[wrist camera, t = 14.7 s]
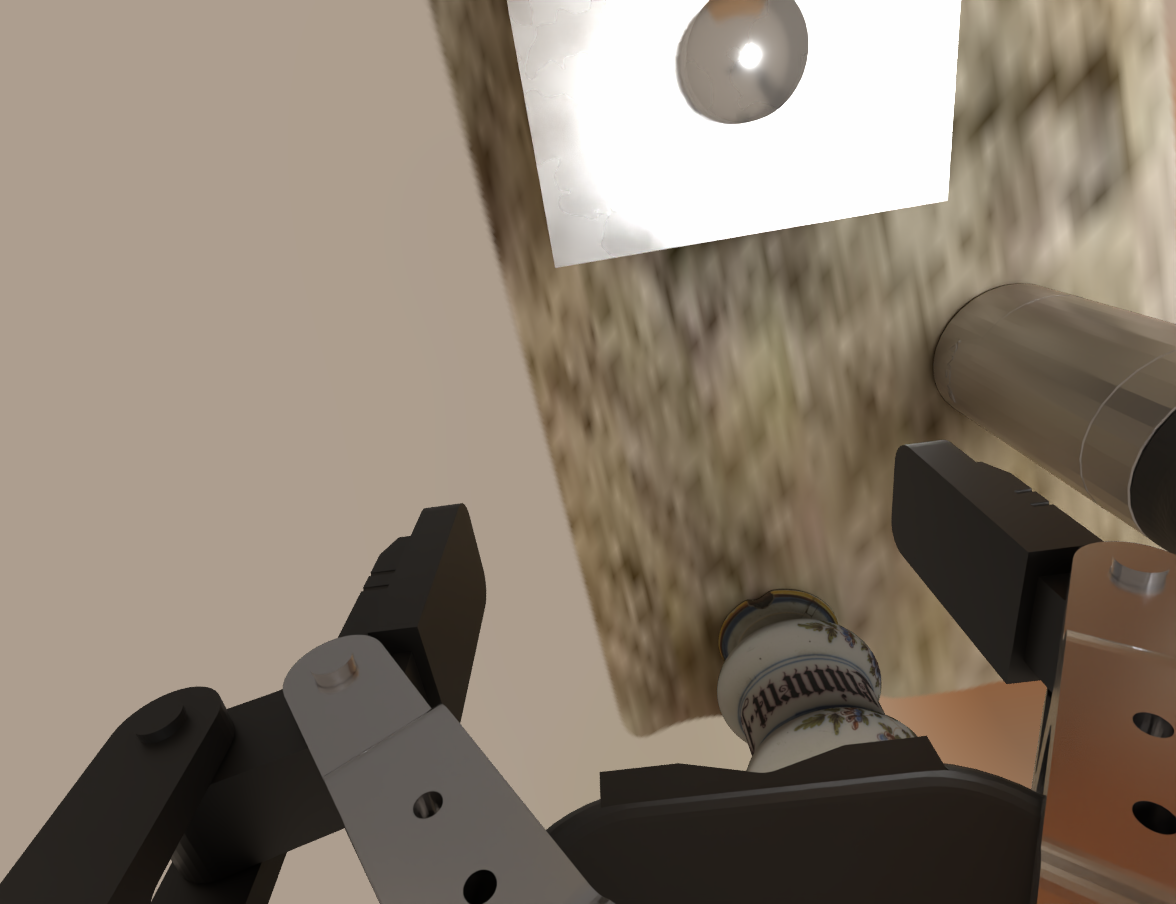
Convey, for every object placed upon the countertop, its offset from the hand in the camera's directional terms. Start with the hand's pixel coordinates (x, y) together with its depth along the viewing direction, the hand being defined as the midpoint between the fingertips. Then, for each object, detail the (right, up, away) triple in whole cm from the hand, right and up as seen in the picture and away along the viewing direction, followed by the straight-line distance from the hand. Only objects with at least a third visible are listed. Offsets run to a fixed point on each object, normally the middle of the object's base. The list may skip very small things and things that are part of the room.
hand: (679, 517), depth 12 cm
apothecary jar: (+14, -14, +42) cm, 46 cm away
